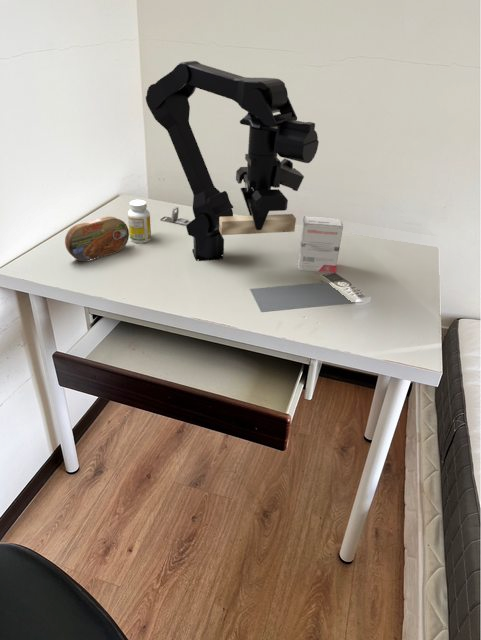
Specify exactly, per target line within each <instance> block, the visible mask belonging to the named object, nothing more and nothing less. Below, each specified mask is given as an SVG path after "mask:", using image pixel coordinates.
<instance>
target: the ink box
mask: <svg viewBox="0 0 481 640" xmlns="http://www.w3.org/2000/svg"><path fill="white" fill-rule="evenodd" d="M302 220H303V221H302V228H301V235H300V236H301V238H300V246H299V253H298V254H299V255H298V262H297V268H298V270H299V271H307V272H321V273H336V271H337V266H338V260H339V255H340V250H341V249H340V247H341V242H342V235H343V230H344V224H343V221H342V218H329V217H320V216H307V215H305V216H303V219H302Z"/></svg>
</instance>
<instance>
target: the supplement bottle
mask: <svg viewBox="0 0 481 640" xmlns="http://www.w3.org/2000/svg"><path fill="white" fill-rule="evenodd" d="M147 207H148V206H147V201H145V200H142V199H133V200H131V201H130V202H129V210H128V212H127V220H128V221H127V222H128V230H129V239H130V241H131V242H132V243H136V244H144V243H148V242H150V240H151V239H152V230H151V229H152V227H151V226H152V225H151V213H150V210H148V209H147Z"/></svg>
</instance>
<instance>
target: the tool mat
mask: <svg viewBox="0 0 481 640" xmlns="http://www.w3.org/2000/svg"><path fill="white" fill-rule="evenodd" d="M327 282H328V281H324V282H314V283H311V282H310V283H302V284H291V285H290V284H289V285H281V286H280V285H279V286H267V287H257V288H256V287H255V288H249V290H250V292H251V294H252V296H253V299H254V300H255V302H256V304H257V306H258V308H259V312H260V313H267V312H276V311H289V310H298V309H308V308H316V307H327V306H337V305H339V306H340V305H345V304H346V305H348V304H355V303H354V302H351V301H350V300H348V299H347V298H346V297H345V296H344V295H342V294H341V293H340V292H339V291H338V290H336V289H335V288H333V287H332V286H331V285H330V284H329V283H327Z"/></svg>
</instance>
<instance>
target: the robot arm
mask: <svg viewBox="0 0 481 640" xmlns="http://www.w3.org/2000/svg"><path fill="white" fill-rule="evenodd" d="M196 89H198V90H202V91H206V92H208V93H211V94H214V95H218V96H221V97H223V98H227V99H228V100H232V101H234V102H235V103H237V104H238V106H239V107H240V108H241V109H242V110H244V111H246V112H247V113H246V115H245V116H244V117H242V118H241V119H240V120H239V124H241V125H243V126H248V127H249V131H248V144H247V145H248V146H247V151H248V152H247V153H245V154H244V160H245V161H246V162H247V164H246V166H240V167H239V168H238V169H237V170H236V171H235V172H236V173H235V181H236V182H237V183H238V184H242V182H243V183H244V187H241V188H240V192H241V193H242V197H243V199H244V201H245V205H246V208H247V211H248V213H249V216H252V217H253V221H254V224H255V227H256V230H261V229H262V227H263V225H264V222H265V220H266V217H267V215H269V213H270V212H279V211H282V212H283V211H286V210H288V205H289V203H288V201H289V199H288V198H287V197H286V196H285V194H284V193H283V192H282V191H281V190H280V185H281V186H283V187H287V188H290V189H292V191H294V192H298V190H299V188H300V187H301V185H302V182H303V180H304V178H305V176H304V175H303V174H302V173H301V172H300V171H299V170H297V169H296V168H293V167H294V163H293V162H292V161H297V162H300V163H305V164H311V162H312V161H313V160H314V159H315V156H316V154H317V151H318V147H319V139H318V138H319V137H318V132H317V131H316V130H315V128H316V123H315V122H312V121H300V120H298V117H297V114H296V112H295V110H294V107H293V105H292V103H291V101H290V98H289V95H288V90H287V86H286V84H285V82H284V81H283V80H282V79H279V78H275V77H274V78H272V77H246V76H242V75H238V74H235V73H232V72H229V71H225V70H223V69H218V68H216V67H213V66H209V65H206V64H202V63H200V62H199V61H197V60H190V61H181V62H179V63H178V64H177V65H176V66H175V67H174V68H173V69H172V70H171V71H170V72H168V73H167V74H166V75H164V76H162V77H161V78H160V79H158V80H157V81H156V82H155V83H152V84H150V85H149V86H148V89H147V91H146V96H145V101H146V105H147V107H148V109H149V111H150V112H151V114H152V116H153V118H154V119H155V121H156V122H157V123H159V125H160V126H161V127H163V129H165V130H166V131H167V133H168V136H169V138H170V140H171V143H172V145H173V147H174V150H175V152H176V155H177V158H178V160H179V162H180V165H181V168H182V170H183V172H184V175H185V177H186V180H187V182H188V184H189V186H190V189H191V191H192V195H193V198H192V199H193V200H192V213H193V217H194V218H193V219H192V220H190V221H191V222H190V223H189V224H188V225H187V226H185V228H186V231H187V235H188V236H190V237H192V239H193V248H192V251H191V252H192V254H193V258H194V259H195V261H196V262H207V261H216V260H217V261H220V260H224V255H225V251H224V250H225V248H224V247H225V239H224V237H223V236H224V235H221V233H220V231H219V219H220V217H228V216H234V212H233V209H234V205H233V204H232V203H231V200H230V198H229V197H230V196H229V194H228V192H227V191H226V190H223V191H220V190H219V189H218V188H216V186H215V184H214V182H213V180H212V178H211V175H210V172H209V170H208V168H207V164H206V163H205V162H206V161H205V159H204V157H203V155H202V151H201V149H200V147H199V144H198V141H197V139H196V137H195V134H194V131H193V129H192V127H191V124H190V112H191V107H190V105H191V104H190V102H189V98H190V97H191V96H193V94H194V93H195V91H196ZM277 113H278V114H277ZM278 157H281V158H283V159H282V160H280V159H279V158H278ZM291 160H292V161H291ZM272 188H273V189H272ZM274 188H275V189H274ZM276 188H277V189H276Z"/></svg>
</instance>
